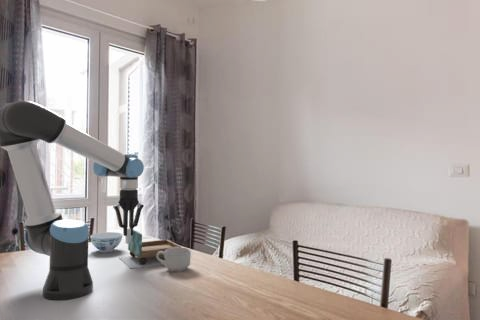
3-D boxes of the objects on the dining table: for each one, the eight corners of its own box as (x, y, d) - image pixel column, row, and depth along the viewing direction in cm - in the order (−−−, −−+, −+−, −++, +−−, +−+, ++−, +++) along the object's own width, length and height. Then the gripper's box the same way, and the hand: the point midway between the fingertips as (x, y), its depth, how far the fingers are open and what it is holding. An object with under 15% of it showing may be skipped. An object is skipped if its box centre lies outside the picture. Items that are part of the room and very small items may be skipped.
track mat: (188, 260, 159) (188, 259, 159) (130, 268, 145) (130, 268, 145) (172, 251, 175) (172, 250, 175) (119, 258, 161) (119, 257, 161)
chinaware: (128, 250, 176) (129, 234, 176) (103, 256, 163) (103, 239, 163) (109, 245, 184) (109, 231, 184) (83, 251, 171) (83, 235, 171)
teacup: (193, 266, 149) (193, 247, 149) (186, 274, 139) (187, 254, 139) (161, 265, 151) (161, 246, 151) (152, 272, 140) (153, 252, 140)
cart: (181, 259, 158) (181, 230, 158) (139, 265, 147) (139, 234, 148) (167, 251, 172) (167, 224, 172) (128, 256, 162) (128, 227, 162)
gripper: (141, 188, 160) (140, 239, 160) (111, 189, 153) (110, 243, 153) (146, 189, 154) (145, 243, 154) (115, 190, 147) (114, 246, 147)
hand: (128, 243), depth 153 cm, fingers closed
